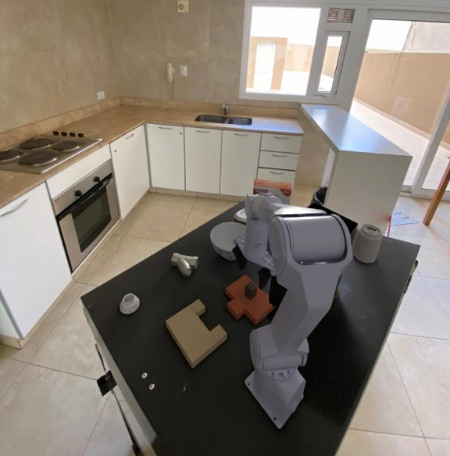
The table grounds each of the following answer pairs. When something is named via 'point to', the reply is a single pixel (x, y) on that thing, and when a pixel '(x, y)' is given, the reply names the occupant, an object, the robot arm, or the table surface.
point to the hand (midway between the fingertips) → (252, 277)
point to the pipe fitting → (184, 263)
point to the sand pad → (194, 333)
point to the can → (367, 243)
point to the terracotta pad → (248, 300)
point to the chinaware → (226, 238)
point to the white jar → (129, 304)
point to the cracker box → (274, 189)
